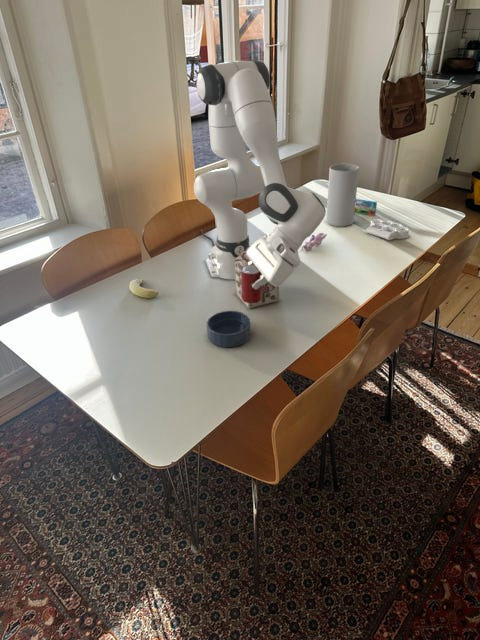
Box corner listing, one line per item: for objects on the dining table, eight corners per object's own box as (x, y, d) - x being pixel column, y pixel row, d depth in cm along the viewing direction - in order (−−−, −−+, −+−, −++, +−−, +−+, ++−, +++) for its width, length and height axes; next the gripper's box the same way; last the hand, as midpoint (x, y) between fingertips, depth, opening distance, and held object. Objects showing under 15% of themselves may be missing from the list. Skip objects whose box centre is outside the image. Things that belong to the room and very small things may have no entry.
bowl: (202, 330, 144) (200, 317, 141) (240, 320, 148) (239, 306, 145) (217, 353, 134) (216, 339, 131) (257, 341, 138) (257, 327, 135)
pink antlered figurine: (310, 256, 188) (331, 239, 195) (309, 243, 184) (331, 226, 191) (298, 252, 191) (319, 235, 199) (297, 239, 188) (319, 223, 195)
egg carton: (359, 232, 203) (379, 223, 210) (394, 244, 191) (414, 234, 199) (360, 225, 201) (380, 216, 208) (395, 236, 189) (415, 226, 197)
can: (238, 296, 137) (237, 267, 132) (256, 291, 139) (255, 263, 133) (247, 305, 132) (246, 275, 127) (265, 300, 134) (264, 271, 129)
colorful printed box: (350, 211, 224) (351, 199, 221) (351, 210, 225) (352, 198, 222) (374, 215, 219) (376, 202, 215) (375, 214, 220) (377, 201, 216)
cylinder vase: (333, 215, 221) (337, 162, 207) (357, 220, 215) (363, 165, 201) (321, 223, 213) (324, 169, 199) (346, 229, 206) (351, 172, 193)
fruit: (140, 304, 159) (139, 295, 157) (124, 286, 170) (123, 279, 168) (159, 298, 162) (158, 289, 160) (143, 281, 173) (141, 273, 171)
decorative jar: (235, 294, 162) (232, 247, 152) (264, 286, 166) (264, 240, 156) (248, 310, 153) (247, 261, 143) (280, 301, 156) (280, 253, 147)
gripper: (260, 225, 136) (230, 261, 139) (288, 253, 119) (253, 293, 122) (274, 237, 139) (245, 271, 142) (303, 266, 123) (269, 304, 126)
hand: (249, 282), depth 132 cm, fingers closed on can, 6 cm apart
